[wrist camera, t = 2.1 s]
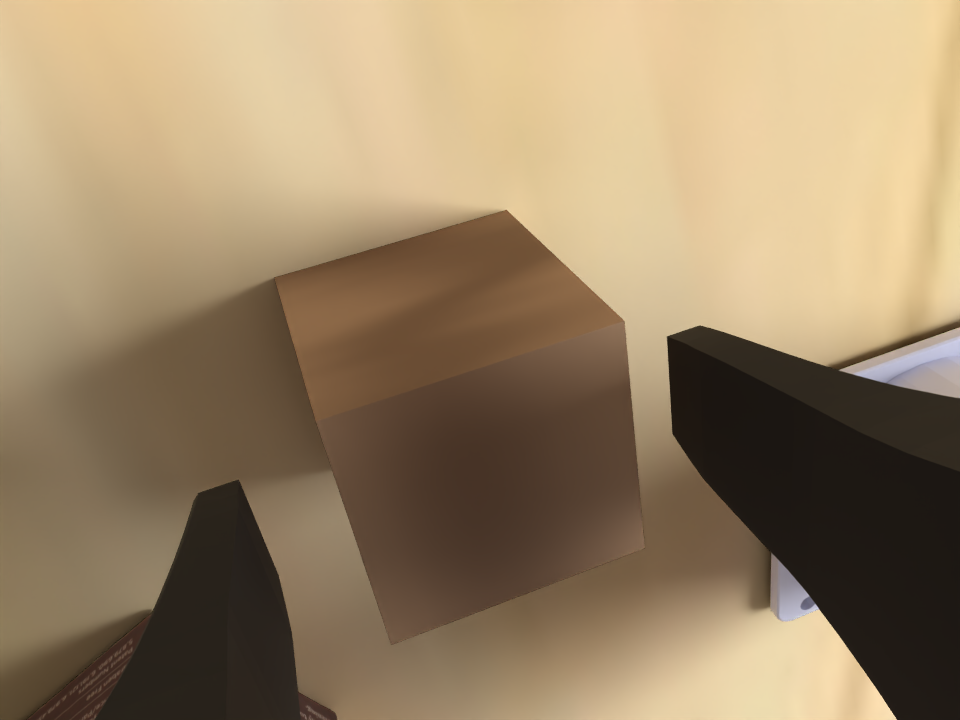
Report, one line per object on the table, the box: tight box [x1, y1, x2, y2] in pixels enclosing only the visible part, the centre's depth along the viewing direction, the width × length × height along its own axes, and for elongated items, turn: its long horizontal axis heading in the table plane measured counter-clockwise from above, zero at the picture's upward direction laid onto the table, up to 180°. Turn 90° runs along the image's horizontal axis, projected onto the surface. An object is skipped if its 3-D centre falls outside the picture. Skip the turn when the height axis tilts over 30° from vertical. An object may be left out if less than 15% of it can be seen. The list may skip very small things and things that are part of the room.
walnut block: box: [275, 210, 645, 645], centre depth 15 cm, size 4×4×5 cm
